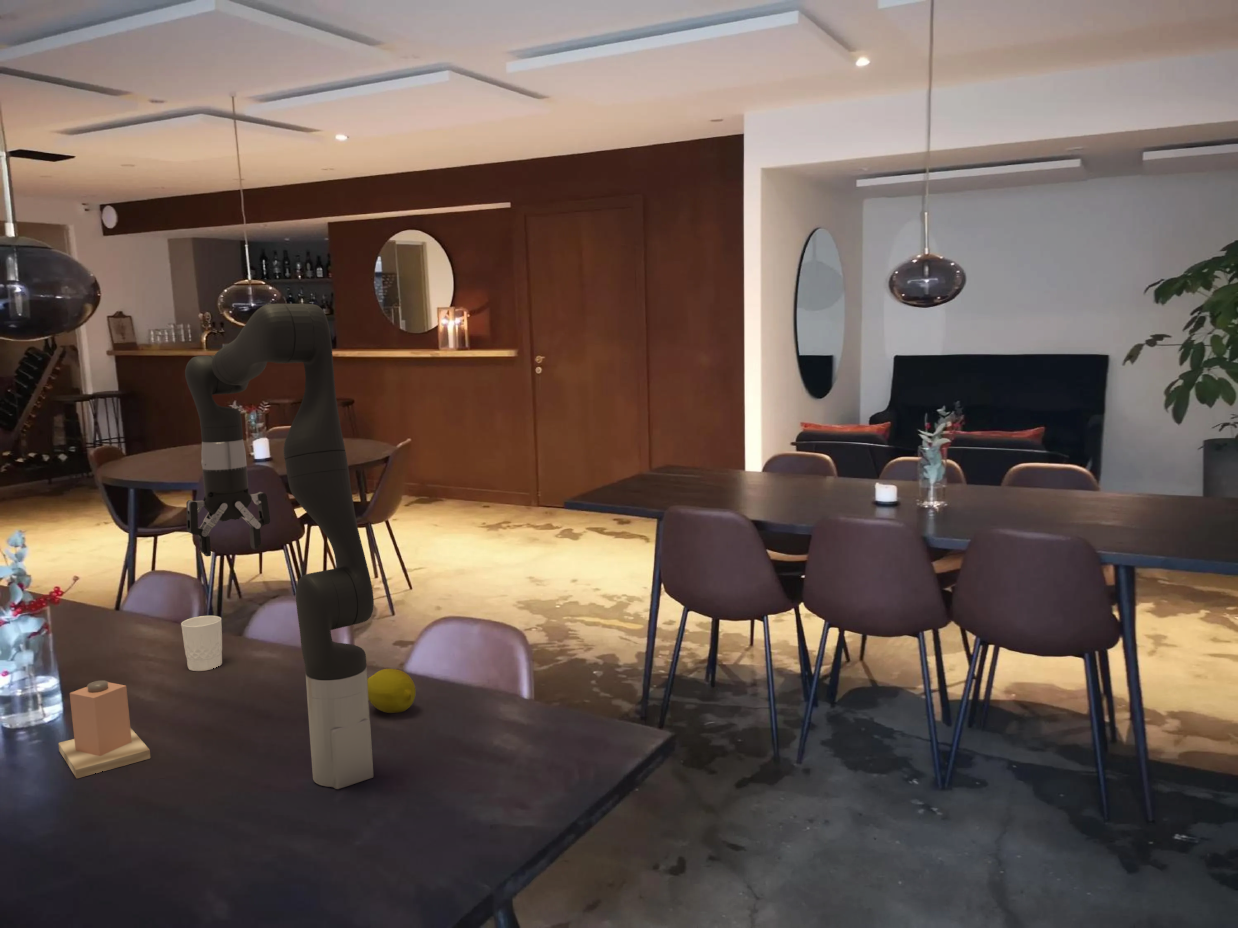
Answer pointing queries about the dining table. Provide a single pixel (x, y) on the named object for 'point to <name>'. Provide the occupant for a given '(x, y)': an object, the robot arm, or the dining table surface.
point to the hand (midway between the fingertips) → (231, 551)
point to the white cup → (203, 642)
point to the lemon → (391, 690)
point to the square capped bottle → (100, 717)
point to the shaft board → (103, 757)
